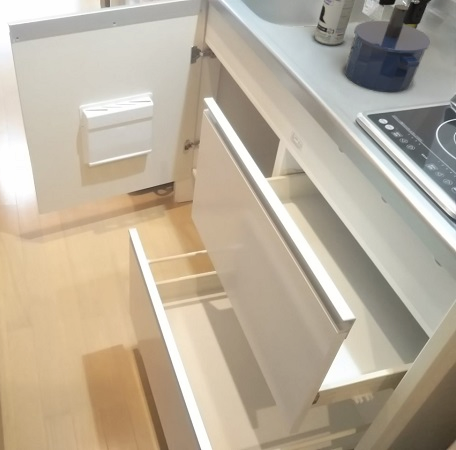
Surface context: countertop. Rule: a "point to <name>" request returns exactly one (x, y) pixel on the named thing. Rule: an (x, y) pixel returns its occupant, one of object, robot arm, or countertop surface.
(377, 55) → the pot
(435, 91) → the countertop surface
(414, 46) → the pot lid
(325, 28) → the spray can
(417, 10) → the robot arm
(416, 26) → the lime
